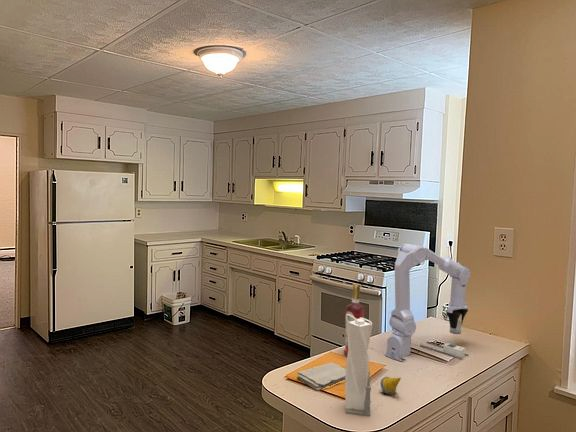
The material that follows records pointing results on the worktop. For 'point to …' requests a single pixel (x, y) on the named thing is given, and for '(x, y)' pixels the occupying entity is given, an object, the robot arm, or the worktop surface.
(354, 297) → the liquor
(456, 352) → the block
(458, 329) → the marbled round peg
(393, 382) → the yellow pear
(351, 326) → the skyscraper
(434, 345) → the board
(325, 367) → the washcloth
